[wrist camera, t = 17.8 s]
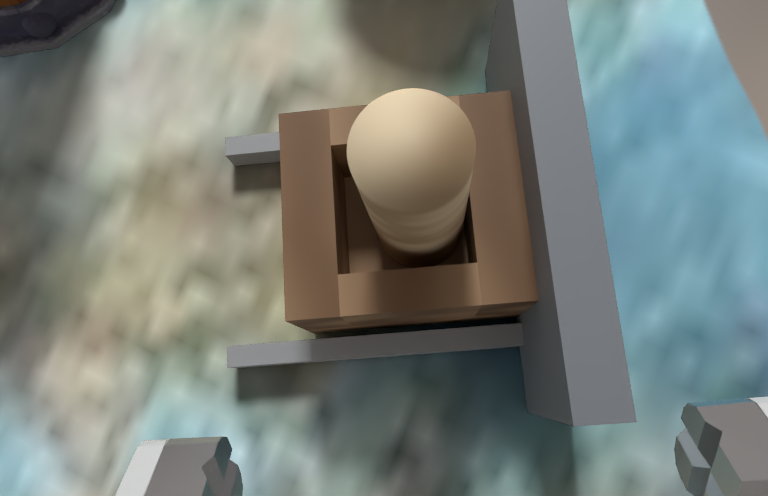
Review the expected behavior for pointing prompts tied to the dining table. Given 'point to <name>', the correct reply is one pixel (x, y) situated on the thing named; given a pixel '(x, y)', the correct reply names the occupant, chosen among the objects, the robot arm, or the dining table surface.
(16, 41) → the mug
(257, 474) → the dining table surface
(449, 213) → the dowel
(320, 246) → the socket block
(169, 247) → the dining table surface
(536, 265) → the backstop
